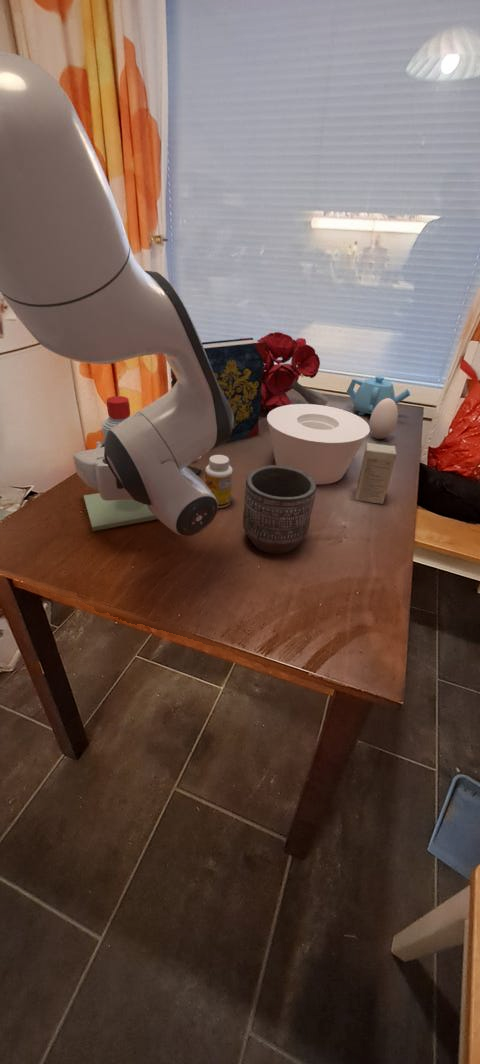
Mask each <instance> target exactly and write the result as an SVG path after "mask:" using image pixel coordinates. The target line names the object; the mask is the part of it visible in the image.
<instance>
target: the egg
mask: <svg viewBox="0 0 480 1064" xmlns="http://www.w3.org/2000/svg"><path fill="white" fill-rule="evenodd" d="M398 416H399V411H398V405H397V404H395V402H394V401H393V400H392V399H390V398H386V399H384V400H382V401H380V402H379V403H378V405H377V406H376V407H375V409H374V410H373V412H372V414H370V418H369V423H368V425H369V427H370V433H371V435H372V436H373V437H374V438H375V439H377V440H383V439H385V438H387V437H390V435H391V434H392V433H393V431H394V430H395V428H396V427H397V423H398V418H399V417H398Z"/></svg>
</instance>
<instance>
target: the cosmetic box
mask: <svg viewBox="0 0 480 1064" xmlns="http://www.w3.org/2000/svg"><path fill="white" fill-rule="evenodd" d="M396 458H397V448H396V445H390V444H380V443H373V442H366V444H365V448H364V453H363V457H362V461H361V467H360V471H359V475H358V479H357V484H356V488H355V496H354V499H355V500H356V501H360V502H367V503H373V504H381V505H382V504H383V505H384V502H385V498H386V495H387V490H388V487H389V484H390V480H391V476H392V472H393V469H394V465H395V461H396Z"/></svg>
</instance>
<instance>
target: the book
mask: <svg viewBox="0 0 480 1064" xmlns="http://www.w3.org/2000/svg"><path fill="white" fill-rule="evenodd" d="M257 341H258V340H254V338H253V337H246V338H235V339H224V340H213V341H204V342H202V341H201V342H202V344H203V347H204V350H205V352H206V355H207V357H208V360H209V362H210V365H211V367H212V370H213V372H214V375H215V377H216V379H217V382H218V384H219V386H220V388H221V390H222V392H223V393H224V395H225V397H226V399H227V401H228V403H229V405H230V407H231V409H232V411H233V414H234V423H233V428H232V432H231V435H230V438H229V440H228V441H227V442H225V443H224V444H227V443H231V442H235V441H238V440H243V439H247V438H251V437H256V436H258V435H259V424H260V411H261V405H260V400H261V389H262V377H263V365H264V364H265V363H264V356H265V348H266V344H265V342H257ZM170 378H171V382H170V386H171V389H172V388H173V386H174V385H175V384H176V382H177V378H176V376H175V375H174V373H173V371H172V369H171V368H170Z"/></svg>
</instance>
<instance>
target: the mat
mask: <svg viewBox="0 0 480 1064" xmlns="http://www.w3.org/2000/svg"><path fill="white" fill-rule="evenodd" d="M83 501H84V504H85V508H86V511H87V515H88V519H89V523H90V526H91V529H92V532H95V531H96V532H97V531H101V530H106V529H112V528H117V527H123V526H127V525H133V524H138V523H143V522H150V521H154V520H158V519H157V518H156V517H155V515H154V514H153V513H152V512H151V511H150V510H149V509H148V507H147V505H145V504H142V503H140V502H137V501H135V500H129V499H127V500H110V501H106V500H103V499H102V498H101V496H100V493H99V492H97V493H90V494H84V495H83Z"/></svg>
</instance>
